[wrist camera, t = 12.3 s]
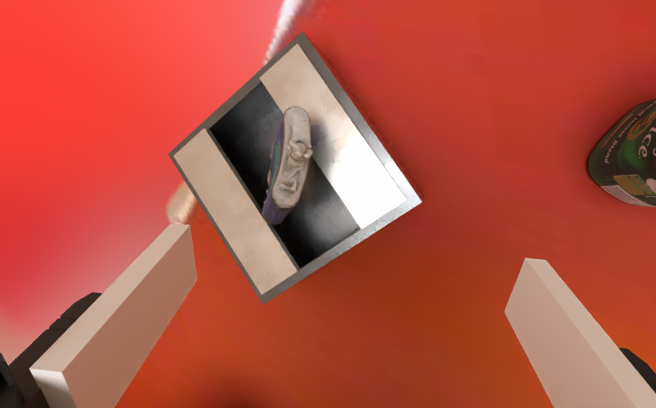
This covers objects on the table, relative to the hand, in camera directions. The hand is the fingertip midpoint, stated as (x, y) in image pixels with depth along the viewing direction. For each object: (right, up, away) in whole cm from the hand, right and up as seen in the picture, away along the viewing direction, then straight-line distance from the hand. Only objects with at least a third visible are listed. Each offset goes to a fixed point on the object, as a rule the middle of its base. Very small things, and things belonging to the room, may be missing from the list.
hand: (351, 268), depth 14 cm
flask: (-6, +5, +23) cm, 24 cm away
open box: (-3, +6, +29) cm, 30 cm away
